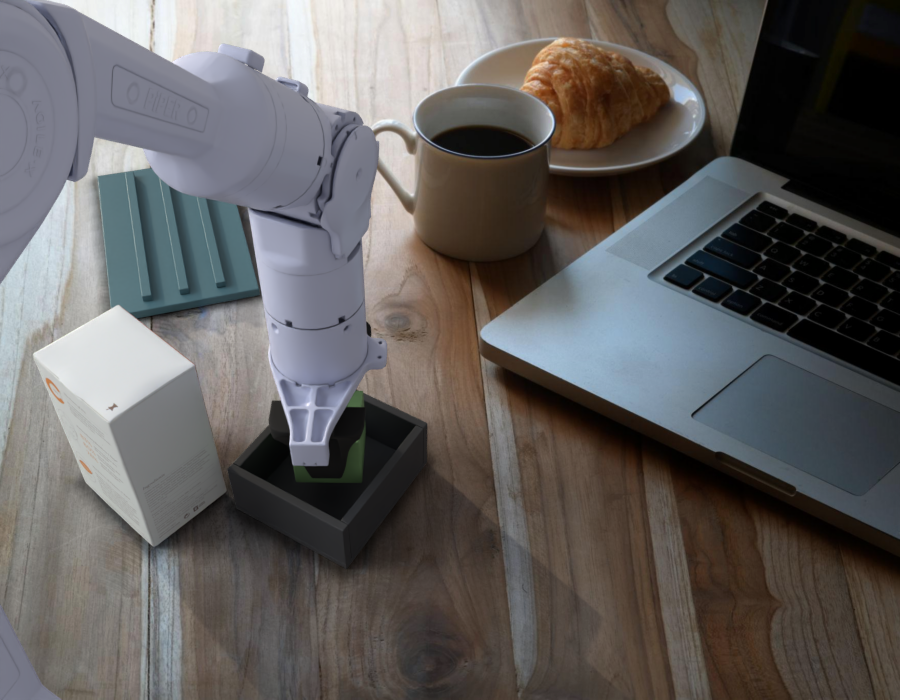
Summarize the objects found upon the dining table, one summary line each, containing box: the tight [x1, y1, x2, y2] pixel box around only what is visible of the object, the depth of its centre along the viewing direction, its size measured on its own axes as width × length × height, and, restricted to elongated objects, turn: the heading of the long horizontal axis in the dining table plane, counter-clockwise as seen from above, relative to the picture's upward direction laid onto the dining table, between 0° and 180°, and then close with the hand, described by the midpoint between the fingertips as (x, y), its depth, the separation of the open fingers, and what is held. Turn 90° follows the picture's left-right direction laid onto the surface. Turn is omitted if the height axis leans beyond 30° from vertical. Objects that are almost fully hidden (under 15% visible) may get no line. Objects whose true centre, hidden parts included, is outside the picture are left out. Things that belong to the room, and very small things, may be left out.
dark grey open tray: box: [226, 388, 429, 570], centre depth 64 cm, size 10×9×4 cm
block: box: [293, 390, 366, 483], centre depth 62 cm, size 4×4×4 cm
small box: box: [32, 305, 228, 548], centre depth 60 cm, size 8×6×13 cm
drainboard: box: [96, 167, 261, 319], centre depth 83 cm, size 20×12×1 cm, turn 18°
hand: (329, 444), depth 62 cm, fingers closed on block, 4 cm apart
